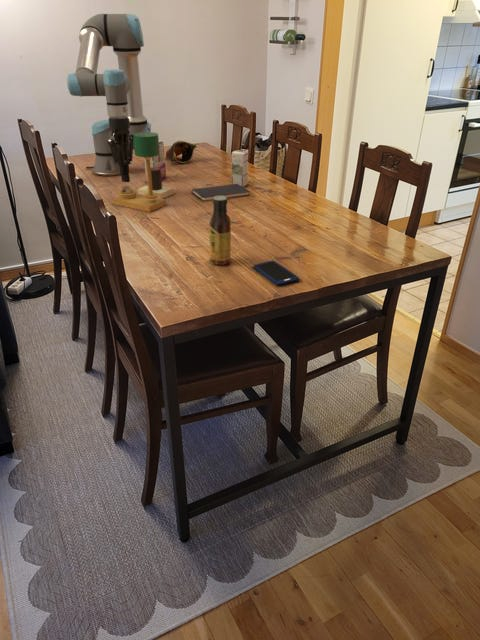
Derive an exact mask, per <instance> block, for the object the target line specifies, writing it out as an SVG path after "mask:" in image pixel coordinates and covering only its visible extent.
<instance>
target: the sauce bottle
mask: <svg viewBox="0 0 480 640" xmlns="http://www.w3.org/2000/svg"><path fill="white" fill-rule="evenodd" d="M212 204H213V211H212V215H211V218H210V221H209V225H208V226H209V228H208V229H209V230H208V231H209V233H208V234H209V236H208V237H209V260H210V262H211V263H212V264H213V265H218V266H223V265H228V264H229V263H230V261H231V255H232V253H231V252H232V251H231V248H232V247H231V246H232V232H231V231H232V228H231V225H232V224H231V218H230V216H229V215H228V210H227V205H228V198H227V197H225V196H215V197H213V200H212Z"/></svg>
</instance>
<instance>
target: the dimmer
mask: <svg viewBox="0 0 480 640" xmlns="http://www.w3.org/2000/svg"><path fill="white" fill-rule="evenodd" d="M136 191H137V194H140V195H145V194H148V193H149V192H148V184H147V185H144V186H141V187H139V188H137V190H136ZM153 193H155V194H157V196H158V197H157V198H160V199H166V198H167V197H170V196H172V195H174V194H175V191H174V187H170V186H164V185H163V184H162V189H160V190H153Z"/></svg>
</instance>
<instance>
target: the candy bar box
mask: <svg viewBox="0 0 480 640" xmlns="http://www.w3.org/2000/svg"><path fill="white" fill-rule="evenodd" d="M164 147H165V145H164V140H159V153H160V154H159V155H158V156H154V157H151V159H150V166H151V168H152V167H157V168H161V178H162V180H164V179H165V178H167V170H166V159H165V158H166V157H165V148H164ZM143 161H144V171H145V180H146V183H148V181H147V170H146V159H144V158H143Z"/></svg>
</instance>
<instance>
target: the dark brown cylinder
mask: <svg viewBox="0 0 480 640" xmlns="http://www.w3.org/2000/svg"><path fill="white" fill-rule="evenodd" d="M151 178H152V190H160V189H162V185H163V179H162V178H161V168H157V167H152V168H151Z"/></svg>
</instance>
